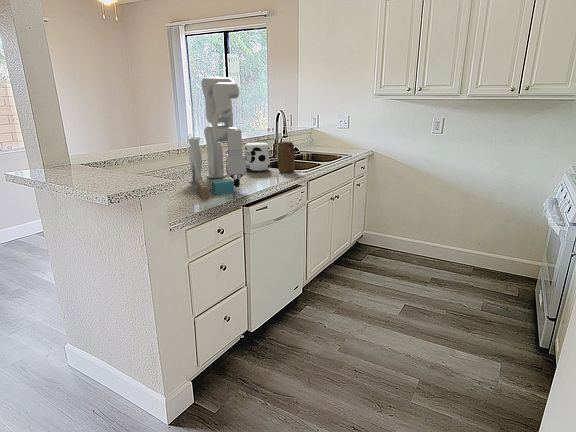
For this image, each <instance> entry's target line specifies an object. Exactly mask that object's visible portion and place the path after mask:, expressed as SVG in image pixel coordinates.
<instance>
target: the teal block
mask: <svg viewBox="0 0 576 432" xmlns="http://www.w3.org/2000/svg"><path fill="white" fill-rule="evenodd" d="M210 183H211V191H212V193H213V194H215V195H222V193H224V194H230V193H235V186H234V180H233V179H232V178H218V179H212V180H211V182H210Z"/></svg>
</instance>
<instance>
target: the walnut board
mask: <svg viewBox="0 0 576 432" xmlns="http://www.w3.org/2000/svg"><path fill="white" fill-rule="evenodd" d="M202 179H203V178H202ZM202 179H196V183H197V184H196V191H197V192H198V194H199V195H200V197H201V198H202V200H204V199H210V198H209V197H210V196H209V194H210V193H209V186H208V185H207V184H206V182H205V181H204V179H203V180H202Z"/></svg>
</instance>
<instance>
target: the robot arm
mask: <svg viewBox="0 0 576 432" xmlns="http://www.w3.org/2000/svg"><path fill="white" fill-rule="evenodd" d="M201 90H202V94H203V95H204V103H205V118H206V121H207V122H208V123H209V124H210V123H211V124H210V125H206V127H205V128H204V129H203V133H204V134H203V135H204V139H205V143H206V144H205V145H206V153H207V154H206V155H207V166H208V167H207V169H208V173H207V174H206V175H205V176H206V178H209V179H224V178H225V177H227V178H230V179H231V180H232V181H233V183H234V188H239V187H240V185H241V181H240V180H241V179H242V178H243V177H244V176H246V175H247V170H246V163H245V154H243V136H242V135H243V133H242V130H241V129H240V128H239V127H236V126H234V115H233V105H232V101H231V99H233V100H234V99H235V100H236V99H238V98H239V97H240V88H239V86H238V84H237V82H236V81H235V80H234V79H232V78H231V77H227V76H225V77H222V76H207V77H204V78H202V80H201ZM222 123H223V124H222ZM225 142H226V143H227V149H226V150H225V151H224V152H225V153H224V152H223V147H222V145H221V144H220V143H225ZM224 154H226V161H225V162H226V163H225V168H224ZM225 170H226V173H225Z"/></svg>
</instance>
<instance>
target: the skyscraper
mask: <svg viewBox="0 0 576 432" xmlns="http://www.w3.org/2000/svg"><path fill="white" fill-rule="evenodd" d="M189 137H190V138H189ZM200 140H201V137H200V136H192V134H191V133H189V134H188V136H187V141H188V143H189V146H188V147H189V148H188V160H189V166H190V170H191V174H192V176H191V180H190V181H188V183H189V184H192V185H197V183H196V179H202V180H203V181H204V179H203V176H202V173H201V172H202V168H203V167H202V166H203V156H202V150H201V146H200Z"/></svg>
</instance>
